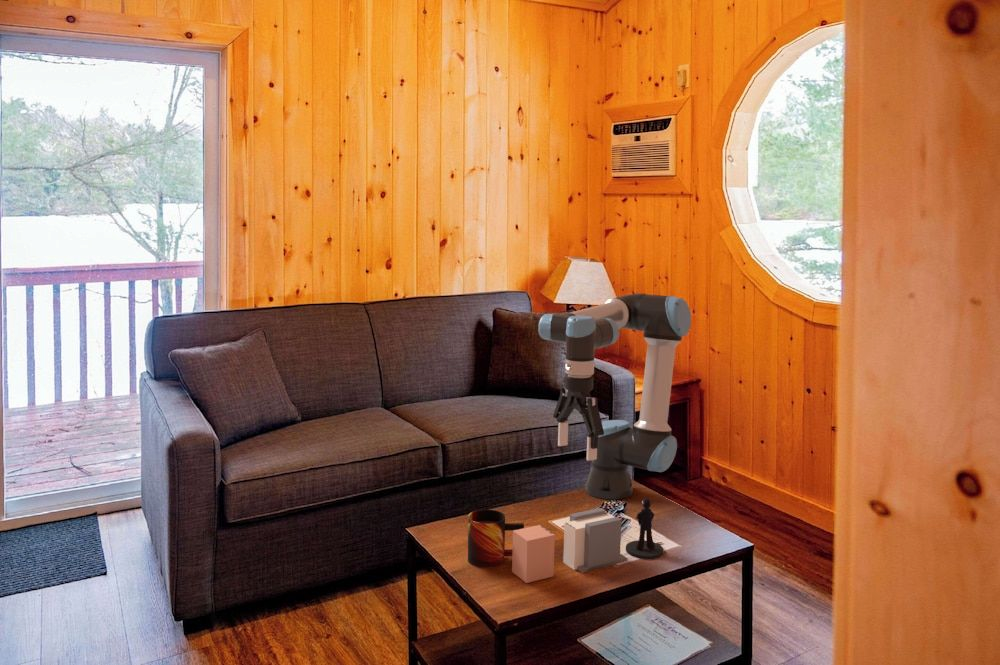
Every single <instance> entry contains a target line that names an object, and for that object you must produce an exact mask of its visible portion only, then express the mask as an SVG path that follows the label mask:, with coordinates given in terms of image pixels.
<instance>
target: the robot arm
mask: <svg viewBox="0 0 1000 665" xmlns="http://www.w3.org/2000/svg"><path fill="white" fill-rule="evenodd" d="M691 315H692V314H691V309H690V307H689V304H688V302H687V301H686V300H685V299H684V298H682V297H677V296H672V295H658V294H646V293H631V294H627V295H626V294H625V295H622V296H621V295H620V296H618V297H613V298H609V299H607V300H606V301H605V302H604V303H603V304H599V305H595V306H590V307H586V308H582V309H580V310H576V311H571V312H567V313H561V314H556V313H545V314H543V315H542V316H541V317H540V319H539V322H538V330H537V332H538V334H539V337H540V338H541V339H543V340H544V341H545V340H546V341H550V342H557V343H564V344H565V368H564V369H565V371H564V372H565V376H564V387H560V391H559V392H560V394H559V397H558V401H557V404H556V406H555V409H554V412H553V415H552V417H553V418H554V419H556V421H557V432H558V433H557V447H563V446H564V447H565V446H568V445H569V444H568V442H569V417H570V416H571V414H572V413H573V411H574V410H576V411H578V413H579V414H580V415H581V416H582V419H583V423H585V426H586V429H587V433H588V434H587V436H586V437H587V438H586V458H585V459H586V461H587V462H588V461H591V468H590V471H589V474H588V477H587V480H586V482H585V493H587V494H588V495H589V496H591V497H594V498H597V499H602V500H623V499H626V498H629V497H631V496H632V495H633V490H634V489H633V488H634V486H633V482H632V479H631V475H630V472H629V467H634V468H638V469H642V470H646V471H649V472H658V473H663V472H665V471H667V470H668V469H669V468H670V466H671V465H672V464H673V461H674V459H675V458H676V454H677V449H678V442H677V440H678V439H677V438H676V437H675V436H674V435H672V428H671V426H670V425H669V424H668V418H669V412H670V410H669V409H670V400H671V392H672V385H673V384H672V383H673V374H674V373H673V372H674V364H675V355H676V348H677V346H678V345H679V344H681V342H682V338H683V337H686V336H687V335H688V334H689V332H690V329H691V324H692V316H691ZM620 329H628V330H633V331H640V332H643V334H642V336H643V337H642V338H643V339H644V341H645V342H646V344H647V347H646V356H645V364H644V365H645V366H644V373H643V382H642V383H643V384H642V391H641V392H642V393H641V401H640V408H639V409H640V410H639V417H638V418H639V419H638V421H636V422H635V423H634V424H633V428H631V423H630V421H628V420H623V419H610V420H609V419H608V420H603V421H602V419H601V414H600V411H599V406H598V400H599V399H598V397H597V396H595V397H591V394H590V393H591V391H593V390H594V379H595V378H594V374H595V351H596V350H598V349H601V348H606V347H610V346H611V345H613V344H615V343H616V342H617V341H618V339H619V337H620Z"/></svg>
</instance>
